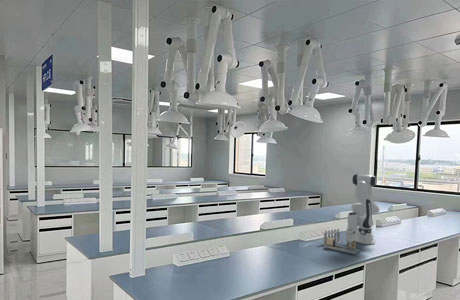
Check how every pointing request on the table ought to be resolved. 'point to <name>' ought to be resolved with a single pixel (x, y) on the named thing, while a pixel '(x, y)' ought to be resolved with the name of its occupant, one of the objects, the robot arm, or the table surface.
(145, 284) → the table surface
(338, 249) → the rail
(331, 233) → the test tube rack
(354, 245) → the wooden block
